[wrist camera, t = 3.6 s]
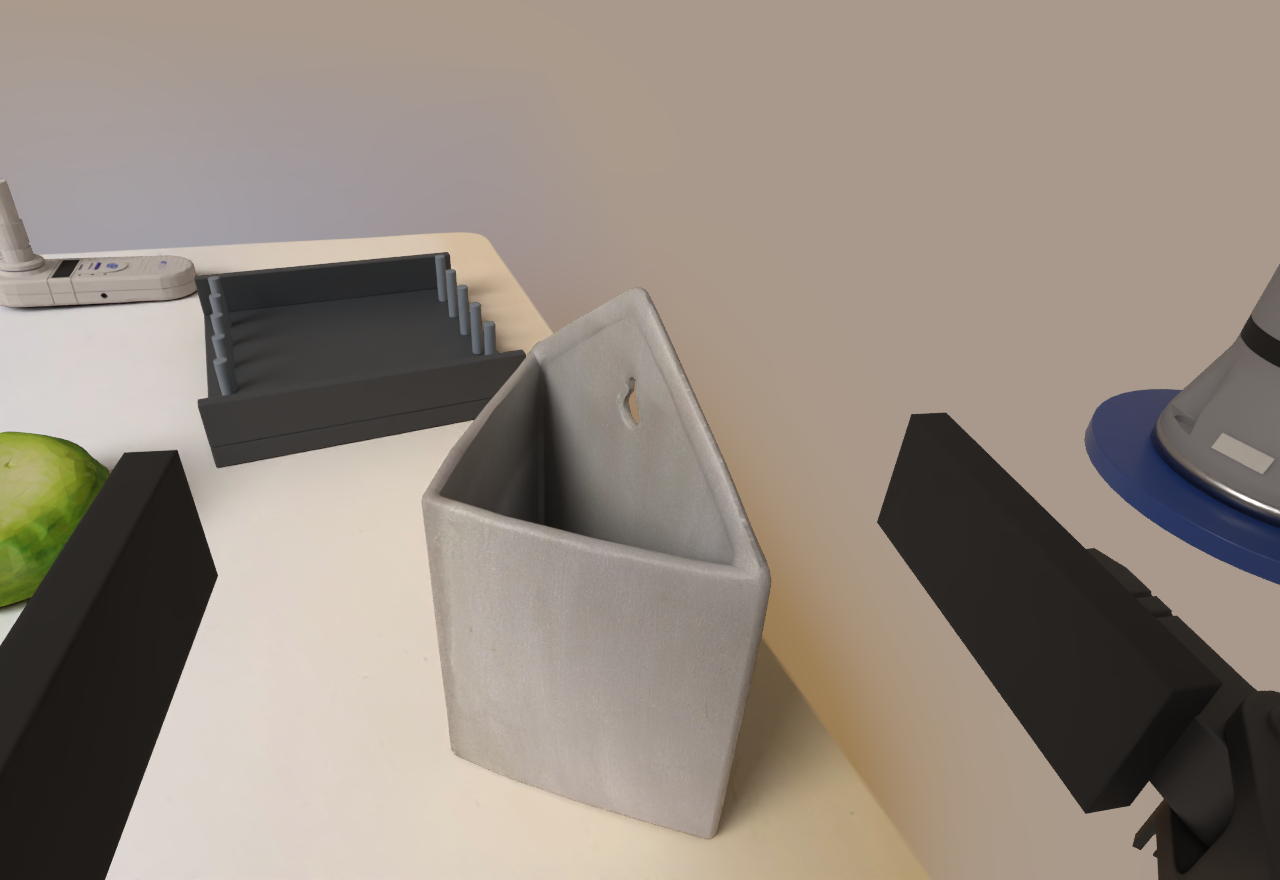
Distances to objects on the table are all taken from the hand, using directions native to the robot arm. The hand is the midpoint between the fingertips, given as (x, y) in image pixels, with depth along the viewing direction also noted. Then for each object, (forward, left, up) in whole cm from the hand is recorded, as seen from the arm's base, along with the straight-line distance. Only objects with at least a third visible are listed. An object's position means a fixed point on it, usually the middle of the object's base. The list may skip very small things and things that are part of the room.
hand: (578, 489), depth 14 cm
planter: (-3, -9, -20) cm, 22 cm away
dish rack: (-1, -44, -20) cm, 49 cm away
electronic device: (+17, -65, -20) cm, 70 cm away
